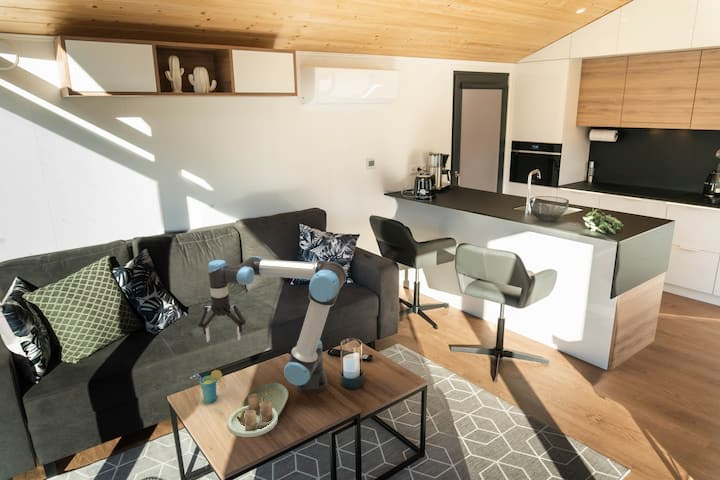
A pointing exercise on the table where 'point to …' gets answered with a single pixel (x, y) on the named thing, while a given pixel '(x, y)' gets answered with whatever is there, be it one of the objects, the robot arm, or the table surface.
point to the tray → (240, 429)
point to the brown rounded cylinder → (266, 411)
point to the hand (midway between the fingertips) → (223, 339)
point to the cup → (209, 385)
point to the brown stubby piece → (254, 403)
